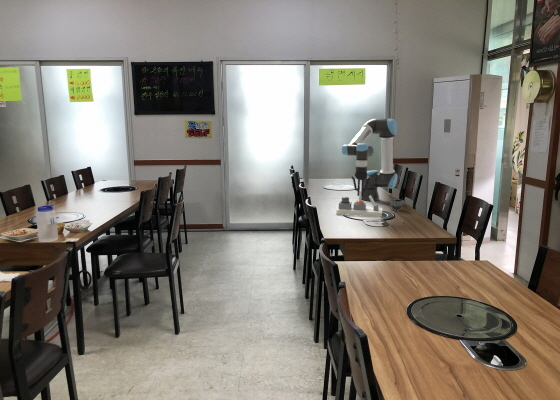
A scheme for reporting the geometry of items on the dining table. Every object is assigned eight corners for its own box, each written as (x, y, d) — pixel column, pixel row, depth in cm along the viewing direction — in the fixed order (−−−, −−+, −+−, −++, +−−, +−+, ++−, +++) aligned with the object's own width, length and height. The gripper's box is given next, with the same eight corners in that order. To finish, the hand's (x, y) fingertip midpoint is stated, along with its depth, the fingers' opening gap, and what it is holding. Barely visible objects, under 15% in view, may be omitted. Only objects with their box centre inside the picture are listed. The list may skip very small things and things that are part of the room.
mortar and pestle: (402, 208, 329) (403, 192, 327) (404, 211, 320) (405, 194, 317) (386, 208, 330) (387, 192, 327) (388, 211, 320) (389, 194, 318)
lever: (375, 208, 311) (369, 196, 310) (377, 207, 310) (370, 195, 310) (375, 209, 307) (368, 197, 307) (377, 208, 307) (370, 196, 306)
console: (339, 209, 323) (339, 200, 322) (382, 212, 316) (382, 202, 315) (336, 214, 308) (336, 204, 307) (381, 217, 301) (381, 206, 300)
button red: (356, 207, 314) (356, 200, 313) (363, 207, 313) (363, 200, 312) (355, 208, 310) (356, 201, 309) (363, 209, 308) (363, 201, 308)
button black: (342, 203, 316) (342, 196, 315) (349, 204, 315) (349, 197, 314) (341, 205, 312) (341, 198, 311) (348, 205, 310) (348, 198, 310)
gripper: (351, 166, 304) (349, 201, 308) (371, 167, 301) (369, 202, 305) (352, 165, 311) (350, 199, 315) (371, 166, 308) (369, 200, 312)
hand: (360, 200), depth 310 cm, fingers closed
